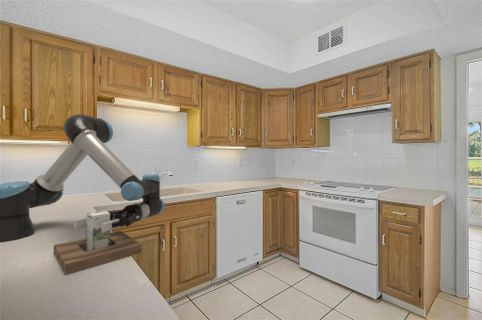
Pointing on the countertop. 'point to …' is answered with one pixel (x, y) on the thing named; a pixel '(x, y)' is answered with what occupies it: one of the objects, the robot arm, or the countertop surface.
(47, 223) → the countertop surface
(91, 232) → the syrup box
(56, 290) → the countertop surface
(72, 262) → the hole board
